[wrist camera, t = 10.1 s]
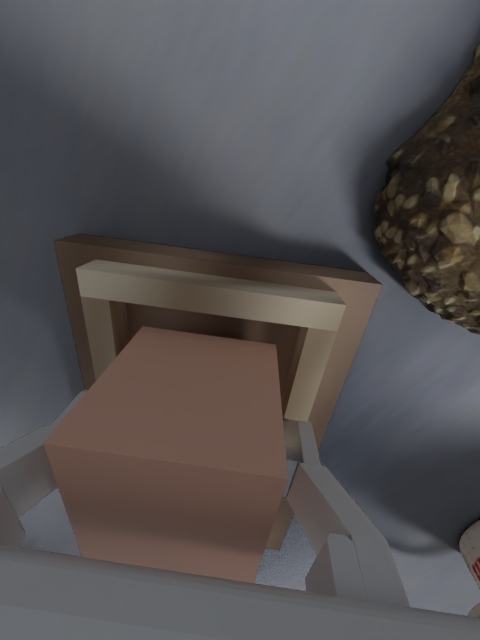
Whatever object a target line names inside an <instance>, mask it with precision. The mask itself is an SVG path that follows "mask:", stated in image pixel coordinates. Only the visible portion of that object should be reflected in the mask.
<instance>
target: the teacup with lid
mask: <svg viewBox="0 0 480 640" xmlns="http://www.w3.org/2000/svg"><path fill="white" fill-rule="evenodd" d="M459 549H460V553H461V555H462V557H463V559H464V561H465V563H466V565H467V567H468V568H469V570H470V572H471V574H472V576H473V578H474V580H475V581H476V583H477V585H478V587H479V589H480V520H478V521H477V522H475V523H474V524H472V525H471V526H470V527H469V528H467V529H466V531H465V532H464V533H463V535H462V536H461V539H460V542H459ZM468 616H471V617H477V618H480V603H478V604H477V605H475V606H474V607H473V608H472V609H471V611H470V612H469V614H468Z"/></svg>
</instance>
